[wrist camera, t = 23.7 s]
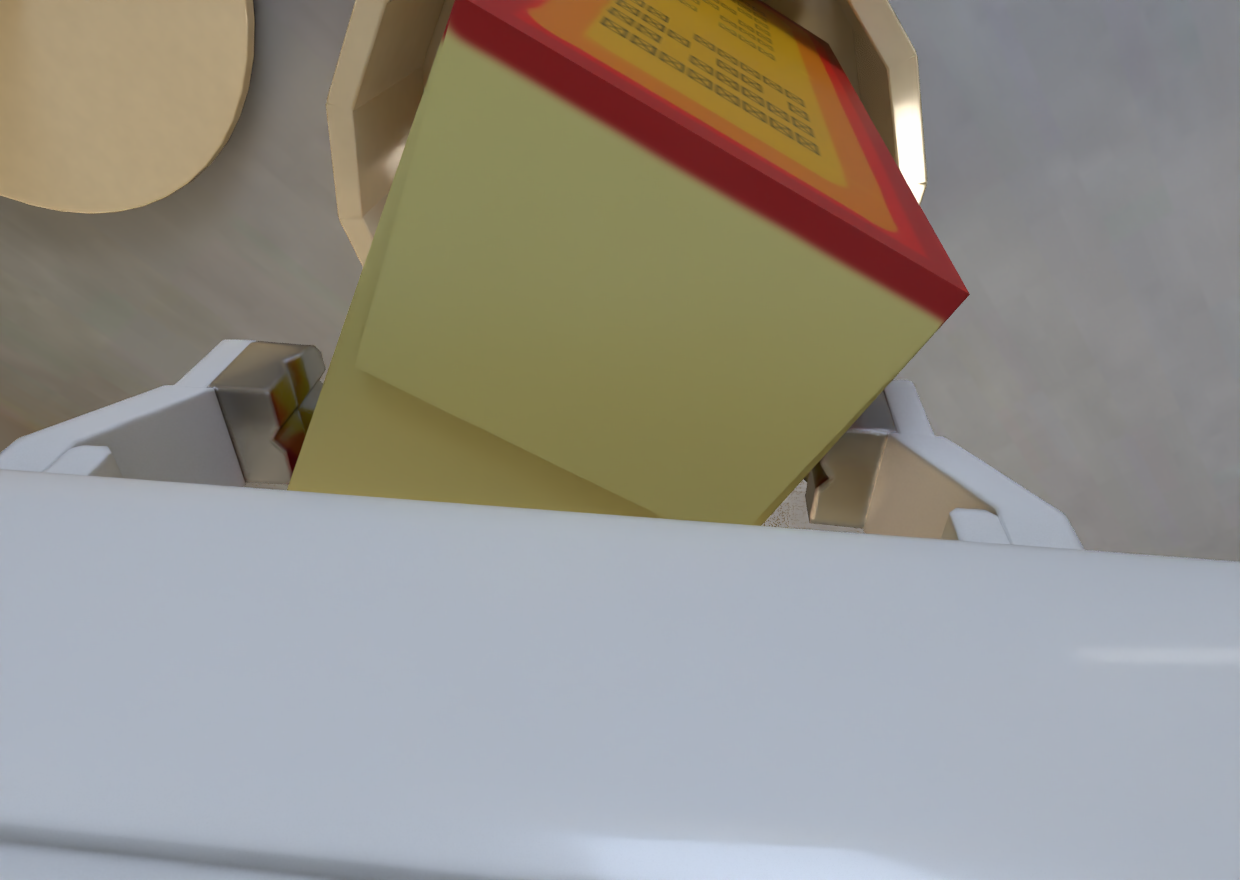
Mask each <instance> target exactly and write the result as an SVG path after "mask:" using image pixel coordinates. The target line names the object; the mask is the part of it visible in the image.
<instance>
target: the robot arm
mask: <svg viewBox="0 0 1240 880" xmlns="http://www.w3.org/2000/svg"><path fill="white" fill-rule="evenodd" d="M325 370H326V369H325V365H324V362H323V358H322V354H321V352H320V351H319V350H318V349H317V348H316V347H315V346H314V345H301V344H289V343H277V342H264V341H255V340H235V339H230V340H222V341H221V342H220V343H219V344H218V345H217V346H216V347H215V348H214V349H213V350H212V351H211V352H210V353H208V354H207V355H206V356H205V357H204V358H203V359H202V360H201V361H200V362H199V363H198V364H197V365H196V366H194V367H193V368H192V369H191V370H190V371H189V372H188V373H187V374H186V375H185V376H184V377H183V378H182V379H181V380H179V381H178V382H177V383H176V384H175V385H174V386H171V385H164V386H161V387H158V388H156V389H153V390H150V391H147V392H145V393H142V394H139V395H136V396H134V397H131V398H128V399H125V400H123V401H120V402H117V403H114V404H112V405H109V406H106V407H103V408H101V409H98V410H95V411H92V412H89V413H87V414H84V415H81V416H78V417H76V418H73V419H70V420H67V421H65V422H62V423H59V424H56V425H54V426H51V427H48V428H45V429H43V430H40V431H37V432H34V433H32V434H29V435H26V436H23V437H20V438H18V439H17V440H16V441H14V442H13V443H12V444H11V445H9V446H8V447H7V448H6V449H4V450H3V451H2V452H1V453H0V880H1240V562H1237V561H1224V560H1210V559H1197V558H1184V557H1171V556H1157V555H1144V554H1131V553H1118V552H1104V551H1091V550H1085V549H1084V548H1083V546H1082V544H1081V542H1080V540H1079V538H1078V537H1077V535H1076V533H1075V531H1074V529H1073V527H1072V526H1071V524H1070V522H1069V520H1068V518H1067V517H1066V515H1065V514H1064V513H1062V512H1061V511H1059V510H1058V509H1056V508H1055V507H1053V506H1052V505H1050V504H1048V503H1047V502H1045V501H1044V500H1042V499H1041V498H1039V497H1038V496H1036V495H1034V494H1033V493H1031V492H1030V491H1028V490H1027V489H1025V488H1024V487H1022V486H1020V485H1019V484H1017V483H1016V482H1014V481H1013V480H1011V479H1009V478H1008V477H1006V476H1005V475H1003V474H1002V473H1000V472H999V471H997V470H995V469H994V468H992V467H991V466H989V465H988V464H986V463H985V462H983V461H981V460H980V459H978V458H977V457H975V456H974V455H972V454H971V453H969V452H967V451H966V450H964V449H963V448H961V447H960V446H958V445H956V444H955V443H953V442H952V441H950V440H949V439H947V438H946V437H944V436H935V435H934V433H933V430H932V428H931V425H930V423H929V420H928V418H927V415H926V413H925V410H924V408H923V406H922V403H921V401H920V398H919V396H918V393H917V391H916V388H915V386H914V384H913V382H911V381H910V380H892V381H891V382H890V383H889V384H888V385H887V387H886V388H885V389H884V390H883V391H882V392H881V393H880V394H879V395H878V397H877V398H876V399H875V400H874V401H873V402H872V403H871V404H870V405H869V407H868V408H867V409H866V410H865V411H864V412H863V413H862V414H861V415H860V417H859V418H858V419H857V420H856V421H855V422H854V423H853V424H852V425H851V427H850V428H849V429H848V430H847V431H846V432H845V433H844V434H843V435H842V437H841V438H840V439H839V440H838V441H837V442H836V443H835V444H834V445H833V446H832V448H831V449H830V450H829V451H828V452H827V453H826V454H825V455H824V456H823V458H822V459H821V460H820V461H819V462H818V463H817V464H816V465H815V466H814V468H813V469H812V470H811V471H810V472H809V473H808V474H807V475H806V476H805V478H804V480H805V481H806V482H808V483H807V488H806V494H805V498H806V505H807V511H808V517H809V523H813V524H823V525H834V526H844V527H854V528H864V530H863V531H864V532H865V533H866V534H864V533H850V532H837V531H824V530H810V529H797V528H783V527H770V526H757V525H743V524H730V523H716V522H703V521H690V520H676V519H663V518H649V517H636V516H622V515H609V514H596V513H582V512H569V511H555V510H542V509H529V508H515V507H502V506H489V505H475V504H462V503H449V502H435V501H422V500H409V499H395V498H382V497H369V496H355V495H342V494H329V493H315V492H302V491H289V490H275V489H262V488H249V487H243V486H245V485H246V483H266V484H287V485H289V483H290V480H291V477H292V474H293V471H294V468H295V465H296V462H297V460H298V457H299V454H300V451H301V448H302V445H303V442H304V439H305V436H306V433H307V430H308V427H309V425H310V422H311V419H312V416H313V413H314V410H315V407H316V404H317V401H318V398H319V395H320V392H321V390H322V387H323V383H322V382H321V381H320V378H321V376H322V375H323V373H324V371H325Z"/></svg>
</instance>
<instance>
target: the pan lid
mask: <svg viewBox="0 0 1240 880" xmlns="http://www.w3.org/2000/svg"><path fill="white" fill-rule="evenodd" d="M254 27H255V18H254V7H253V0H0V195H2V196H5V197H8V198H11V199H14V200H17V201H20V202H24V203H27V204H30V205H33V206H38V207H43V208H48V209H53V210H58V211H65V212H78V213H91V214H92V213H108V212H120V211H124V210H129V209H134V208H138V207H143V206H146V205H148V204H150V203H153V202H155V201H158V200H160V199H163V198H165V197H167V196H169V195H171V194H172V193H174V192H176V191H177V190H179V189H180V188H182V187H184V186H185V185H187V184H188V183H190V182H191V181H193V180H194V179H195V178H196V177H197V176H199V175H200V174H201V173H202V172H203V171H204V170H205V169H206V168H207V167H208V166H209V165H210V164H211V163H212V162H213V161H214V159H215V158H216V157H217V155H218V154H219V153H220V151H221V150H222V149H223V147H224V146H225V145H226V143H227V142H228V140H229V138H230V136H231V134H232V132H233V130H234V128H235V126H236V124H237V122H238V120H239V118H240V115H241V112H242V108H243V105H244V102H245V99H246V95H247V92H248V89H249V83H250V77H251V71H252V64H253V58H254Z"/></svg>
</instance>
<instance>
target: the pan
mask: <svg viewBox="0 0 1240 880" xmlns="http://www.w3.org/2000/svg"><path fill="white" fill-rule="evenodd" d="M454 1H455V0H355V3H354V7H353V10H352V14H351V17H350V21H349V24H348V28H347V31H346V35H345V38H344V42H343V45H342V48H341V52H340V55H339V59H338V62H337V66H336V69H335V73H334V76H333V80H332V83H331V87H330V90H329V93H328V97H327V103H326V111H327V120H328V128H329V137H330V146H331V155H332V164H333V173H334V182H335V191H336V200H337V209H338V217H339V220H340V222H341V224H342V226H343V228H344V230H345V232H346V234H347V236H348V238H349V240H350V242H351V244H352V246H353V248H354V250H355V252H356V254H357V256H358V258H359V260H360V262H361V264H362V266H363V267H364V264H365V261H366V258H367V255H368V252H369V249H370V247H371V244H372V241H373V238H374V235H375V232H376V229H377V226H378V223H379V220H380V217H381V214H382V211H383V209H384V206H385V203H386V200H387V197H388V194H389V191H390V188H391V185H392V182H393V179H394V176H395V174H396V171H397V168H398V165H399V162H400V159H401V156H402V153H403V150H404V147H405V144H406V141H407V139H408V136H409V133H410V130H411V127H412V124H413V121H414V118H415V115H416V112H417V109H418V106H419V104H420V101H421V98H422V95H423V92H424V89H425V86H426V83H427V80H428V77H429V74H430V71H431V68H432V66H433V63H434V60H435V57H436V54H437V51H438V48H439V45H440V42H441V39H442V36H443V33H444V31H445V28H446V25H447V22H448V19H449V16H450V13H451V10H452V7H453V4H454ZM761 1H763V2H764V3H766V4H767V5H769V6H771V7H772V8H774V9H775V10H777V11H778V12H780V13H782V14H783V15H785V16H786V17H788V18H789V19H791V20H793V21H794V22H796V23H797V24H799V25H800V26H802V27H803V28H805V29H807V30H808V31H810V32H811V33H813V34H814V35H816V36H818V37H819V38H821V39H822V40H824V41H825V42H827V43H828V44H829V46H830V47H831V49H832V51H833V53H834V54H835V56H836V58H837V60H838V61H839V63H840V65H841V67H842V69H843V70H844V72H845V74H846V76H847V77H848V79H849V81H850V83H851V85H852V86H853V88H854V90H855V92H856V93H857V95H858V97H859V99H860V101H861V102H862V104H863V106H864V108H865V109H866V111H867V113H868V115H869V116H870V118H871V120H872V122H873V124H874V125H875V127H876V129H877V131H878V132H879V134H880V136H881V138H882V140H883V141H884V143H885V145H886V147H887V148H888V150H889V152H890V154H891V156H892V157H893V159H894V161H895V163H896V164H897V166H898V168H899V170H900V172H901V173H902V175H903V177H904V179H905V180H906V182H907V184H908V186H909V187H910V189H911V191H912V193H913V195H914V196H915V198H916V200H917V202H918V203H919V205H920V204H921V201H922V198H923V195H924V192H925V189H926V186H927V183H926V182H927V169H926V156H925V144H924V131H923V118H922V105H921V93H920V80H919V67H918V56H917V55H916V50H915V49H914V47H913V45H912V43H911V41H910V40H909V38H908V36H907V34H906V32H905V30H904V29H903V27H902V25H901V23H900V21H899V20H898V18H897V16H896V14H895V12H894V11H893V9H892V7H891V5H890V3H889V2H888V0H761Z"/></svg>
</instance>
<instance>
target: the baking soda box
mask: <svg viewBox="0 0 1240 880" xmlns="http://www.w3.org/2000/svg"><path fill="white" fill-rule="evenodd" d="M969 295H970V294H969V292H968V290H967V289H966V287H965V285H964V283H963V282H962V280H961V278H960V276H959V274H958V273H957V271H956V269H955V267H954V266H953V264H952V262H951V260H950V258H949V257H948V255H947V253H946V251H945V250H944V248H943V246H942V244H941V242H940V241H939V239H938V237H937V235H936V234H935V232H934V230H933V228H932V227H931V225H930V223H929V221H928V219H927V218H926V216H925V214H924V212H923V211H922V209H921V207H920V205H919V203H918V202H917V200H916V198H915V196H914V195H913V193H912V191H911V189H910V187H909V186H908V184H907V182H906V180H905V179H904V177H903V175H902V173H901V172H900V170H899V168H898V166H897V164H896V163H895V161H894V159H893V157H892V156H891V154H890V152H889V150H888V148H887V147H886V145H885V143H884V141H883V140H882V138H881V136H880V134H879V132H878V131H877V129H876V127H875V125H874V124H873V122H872V120H871V118H870V116H869V115H868V113H867V111H866V109H865V108H864V106H863V104H862V102H861V101H860V99H859V97H858V95H857V93H856V92H855V90H854V88H853V86H852V85H851V83H850V81H849V79H848V77H847V76H846V74H845V72H844V70H843V69H842V67H841V65H840V63H839V61H838V60H837V58H836V56H835V54H834V53H833V51H832V49H831V47H830V46H829V44H828V43H827V42H825V41H824V40H822V39H821V38H819V37H818V36H816V35H814V34H813V33H811V32H810V31H808V30H807V29H805V28H803V27H802V26H800V25H799V24H797V23H796V22H794V21H793V20H791V19H789V18H788V17H786V16H785V15H783V14H782V13H780V12H778V11H777V10H775V9H774V8H772V7H771V6H769V5H767V4H766V3H764V2H763V1H761V0H455V1H454V4H453V7H452V10H451V13H450V16H449V19H448V22H447V25H446V28H445V31H444V33H443V36H442V39H441V42H440V45H439V48H438V51H437V54H436V57H435V60H434V63H433V66H432V68H431V71H430V74H429V77H428V80H427V83H426V86H425V89H424V92H423V95H422V98H421V101H420V104H419V106H418V109H417V112H416V115H415V118H414V121H413V124H412V127H411V130H410V133H409V136H408V139H407V141H406V144H405V147H404V150H403V153H402V156H401V159H400V162H399V165H398V168H397V171H396V174H395V176H394V179H393V182H392V185H391V188H390V191H389V194H388V197H387V200H386V203H385V206H384V209H383V211H382V214H381V217H380V220H379V223H378V226H377V229H376V232H375V235H374V238H373V241H372V244H371V247H370V249H369V252H368V255H367V258H366V261H365V264H364V267H363V270H362V273H361V276H360V279H359V282H358V284H357V287H356V290H355V293H354V296H353V299H352V302H351V305H350V308H349V311H348V314H347V317H346V319H345V322H344V325H343V328H342V331H341V334H340V337H339V340H338V343H337V346H336V349H335V352H334V355H333V357H332V360H331V363H330V366H329V369H328V372H327V375H326V378H325V381H324V384H323V387H322V390H321V392H320V395H319V398H318V401H317V404H316V407H315V410H314V413H313V416H312V419H311V422H310V425H309V427H308V430H307V433H306V436H305V439H304V442H303V445H302V448H301V451H300V454H299V457H298V460H297V462H296V465H295V468H294V471H293V474H292V477H291V480H290V483H289V486H288V489H287V490H289V491H302V492H315V493H329V494H342V495H355V496H369V497H382V498H395V499H409V500H422V501H435V502H449V503H462V504H475V505H489V506H502V507H515V508H529V509H542V510H555V511H569V512H582V513H596V514H609V515H622V516H636V517H649V518H663V519H676V520H690V521H703V522H716V523H730V524H743V525H757V526H761V525H762V524H763V523H764V522H765V521H766V520H767V519H768V517H769V516H770V515H771V514H772V513H773V512H774V511H775V510H776V509H777V507H778V506H779V505H780V504H781V503H782V502H783V501H784V500H785V499H786V498H787V496H788V495H789V494H790V493H791V492H792V491H793V490H794V489H795V488H796V486H797V485H798V484H799V483H800V482H801V481H802V480H803V479H804V478H805V476H806V475H807V474H808V473H809V472H810V471H811V470H812V469H813V468H814V466H815V465H816V464H817V463H818V462H819V461H820V460H821V459H822V458H823V456H824V455H825V454H826V453H827V452H828V451H829V450H830V449H831V448H832V446H833V445H834V444H835V443H836V442H837V441H838V440H839V439H840V438H841V437H842V435H843V434H844V433H845V432H846V431H847V430H848V429H849V428H850V427H851V425H852V424H853V423H854V422H855V421H856V420H857V419H858V418H859V417H860V415H861V414H862V413H863V412H864V411H865V410H866V409H867V408H868V407H869V405H870V404H871V403H872V402H873V401H874V400H875V399H876V398H877V397H878V395H879V394H880V393H881V392H882V391H883V390H884V389H885V388H886V387H887V385H888V384H889V383H890V382H891V381H892V380H893V379H894V378H895V377H896V376H897V374H898V373H899V372H900V371H901V370H902V369H903V368H904V367H905V366H906V364H907V363H908V362H909V361H910V360H911V359H912V358H913V357H914V356H915V354H916V353H917V352H918V351H919V350H920V349H921V348H922V347H923V346H924V344H925V343H926V342H927V341H928V340H929V339H930V338H931V337H932V336H933V334H934V333H935V332H936V331H937V330H938V329H939V328H940V327H941V326H942V324H943V323H944V322H945V321H946V320H947V319H948V318H949V317H950V316H951V315H952V313H953V312H954V311H955V310H956V309H957V308H958V307H959V306H960V305H961V303H962V302H963V301H964V300H965V299H966V298H967V297H968V296H969Z"/></svg>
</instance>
